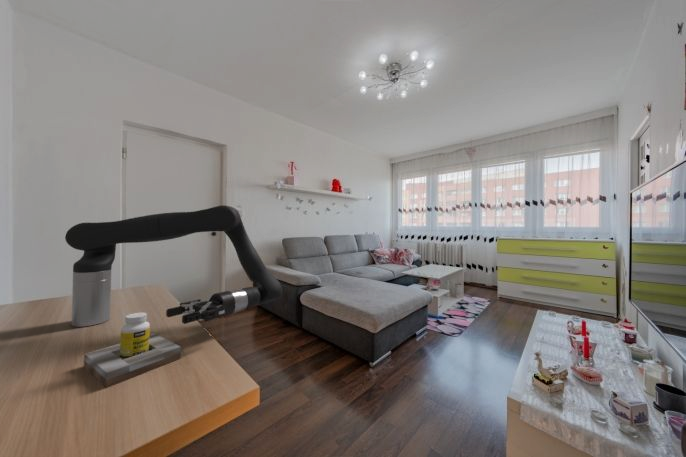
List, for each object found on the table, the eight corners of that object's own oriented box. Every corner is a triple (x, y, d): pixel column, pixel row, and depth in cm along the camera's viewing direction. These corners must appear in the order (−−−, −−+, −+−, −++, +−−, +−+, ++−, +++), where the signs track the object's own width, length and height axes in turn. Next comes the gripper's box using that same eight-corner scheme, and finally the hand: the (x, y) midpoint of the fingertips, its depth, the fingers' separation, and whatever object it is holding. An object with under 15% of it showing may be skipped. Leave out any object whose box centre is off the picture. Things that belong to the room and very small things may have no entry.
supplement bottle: (132, 363, 58) (133, 319, 58) (113, 360, 59) (114, 317, 59) (154, 351, 64) (155, 312, 64) (136, 349, 65) (137, 310, 65)
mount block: (84, 366, 59) (84, 353, 59) (154, 344, 71) (154, 333, 71) (106, 387, 52) (106, 372, 52) (180, 358, 64) (180, 346, 64)
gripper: (216, 287, 86) (162, 298, 72) (243, 294, 79) (189, 307, 65) (215, 310, 86) (161, 324, 72) (243, 318, 79) (188, 336, 65)
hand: (174, 316), depth 69 cm, fingers open, 8 cm apart
